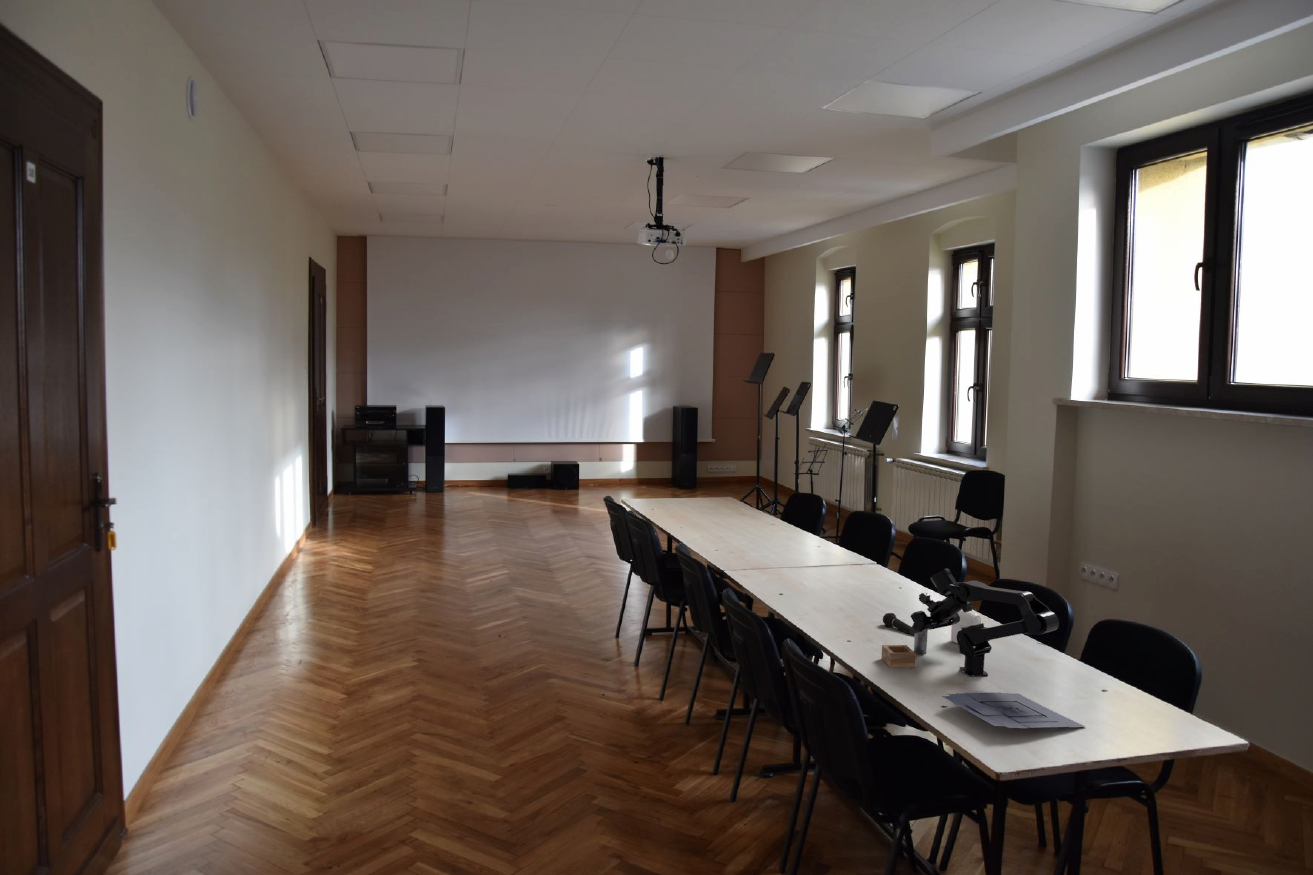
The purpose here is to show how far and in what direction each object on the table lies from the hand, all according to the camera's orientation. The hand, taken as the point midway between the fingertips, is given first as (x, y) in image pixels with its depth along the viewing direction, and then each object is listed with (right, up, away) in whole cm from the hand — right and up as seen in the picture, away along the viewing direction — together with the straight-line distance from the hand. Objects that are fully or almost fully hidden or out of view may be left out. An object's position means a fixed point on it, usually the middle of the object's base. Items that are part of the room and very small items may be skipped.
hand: (919, 630), depth 286 cm
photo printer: (+18, -7, +10) cm, 22 cm away
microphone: (+1, -6, +22) cm, 23 cm away
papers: (+9, -13, -50) cm, 52 cm away
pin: (0, -7, 0) cm, 7 cm away
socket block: (-10, -8, -10) cm, 16 cm away
